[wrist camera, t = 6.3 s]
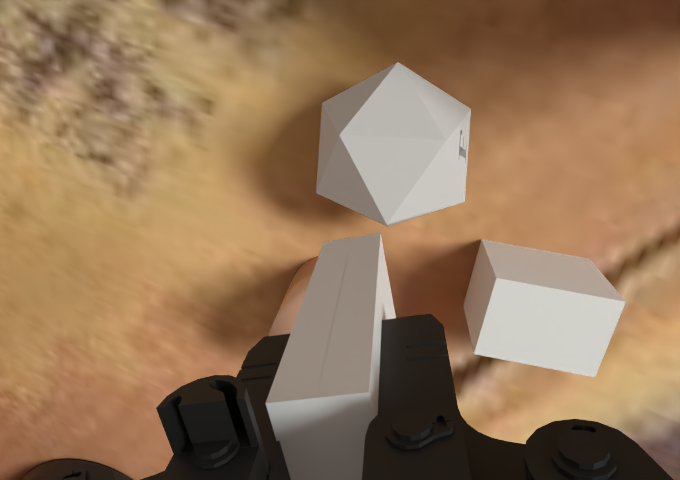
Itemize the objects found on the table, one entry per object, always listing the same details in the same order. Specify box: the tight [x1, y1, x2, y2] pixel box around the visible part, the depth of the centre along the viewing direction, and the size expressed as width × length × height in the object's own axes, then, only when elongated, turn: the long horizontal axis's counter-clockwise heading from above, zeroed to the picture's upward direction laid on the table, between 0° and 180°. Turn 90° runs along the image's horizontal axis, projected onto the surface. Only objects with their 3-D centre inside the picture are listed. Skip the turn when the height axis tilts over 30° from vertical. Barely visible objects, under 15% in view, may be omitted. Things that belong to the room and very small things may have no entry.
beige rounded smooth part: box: [269, 257, 318, 336], centre depth 33 cm, size 6×6×7 cm
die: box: [316, 62, 471, 227], centre depth 28 cm, size 8×9×10 cm
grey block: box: [463, 239, 626, 377], centre depth 32 cm, size 7×5×6 cm
